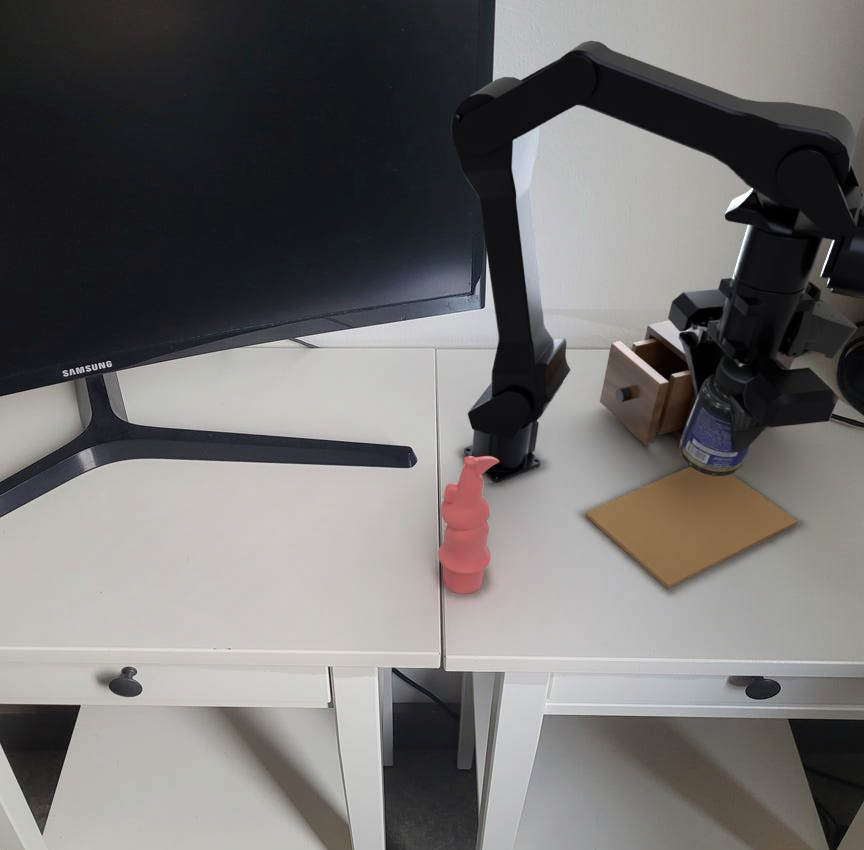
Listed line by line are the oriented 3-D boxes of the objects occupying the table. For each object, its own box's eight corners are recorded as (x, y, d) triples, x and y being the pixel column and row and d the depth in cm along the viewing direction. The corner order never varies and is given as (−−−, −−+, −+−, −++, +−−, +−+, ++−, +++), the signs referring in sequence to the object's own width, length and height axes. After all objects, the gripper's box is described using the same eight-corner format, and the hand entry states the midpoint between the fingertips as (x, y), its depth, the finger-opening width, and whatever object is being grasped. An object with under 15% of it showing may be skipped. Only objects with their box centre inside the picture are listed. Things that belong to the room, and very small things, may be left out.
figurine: (472, 552, 81) (483, 431, 72) (499, 586, 78) (514, 464, 68) (427, 568, 80) (431, 447, 70) (452, 604, 76) (461, 481, 67)
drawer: (635, 447, 93) (650, 386, 87) (591, 403, 99) (602, 344, 94) (727, 423, 96) (746, 363, 91) (677, 382, 103) (693, 324, 98)
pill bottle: (750, 477, 78) (795, 389, 70) (689, 480, 78) (726, 392, 70) (727, 433, 82) (767, 345, 74) (668, 435, 82) (702, 347, 74)
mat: (667, 589, 77) (669, 585, 77) (584, 515, 85) (585, 511, 85) (796, 524, 84) (798, 520, 84) (708, 461, 92) (709, 457, 92)
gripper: (934, 325, 61) (857, 482, 71) (798, 225, 75) (750, 369, 86) (797, 338, 60) (738, 497, 70) (685, 234, 74) (649, 379, 84)
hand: (720, 429), depth 77 cm, fingers closed on pill bottle, 6 cm apart
